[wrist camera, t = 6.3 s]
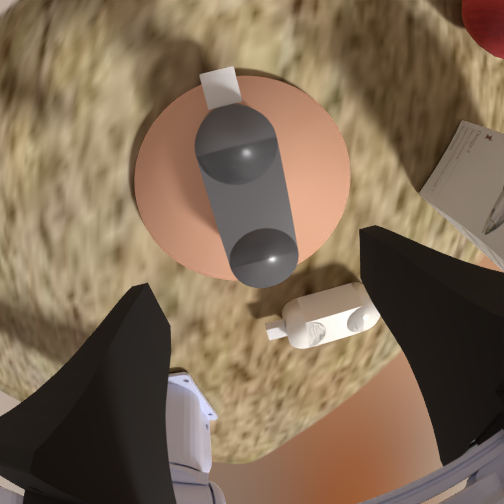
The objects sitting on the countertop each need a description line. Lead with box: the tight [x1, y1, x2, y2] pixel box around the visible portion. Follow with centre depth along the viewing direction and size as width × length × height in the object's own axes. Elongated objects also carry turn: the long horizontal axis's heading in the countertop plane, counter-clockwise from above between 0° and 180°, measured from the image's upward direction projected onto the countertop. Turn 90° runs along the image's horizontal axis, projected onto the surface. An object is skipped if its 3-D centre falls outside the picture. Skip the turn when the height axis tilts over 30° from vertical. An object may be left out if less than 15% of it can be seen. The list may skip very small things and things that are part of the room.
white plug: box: [265, 282, 380, 349], centre depth 22 cm, size 9×3×3 cm, turn 103°
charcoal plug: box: [195, 66, 299, 288], centre depth 15 cm, size 11×4×4 cm, turn 13°
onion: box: [462, 0, 504, 59], centre depth 9 cm, size 6×6×8 cm
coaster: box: [134, 76, 350, 280], centre depth 18 cm, size 13×13×1 cm
